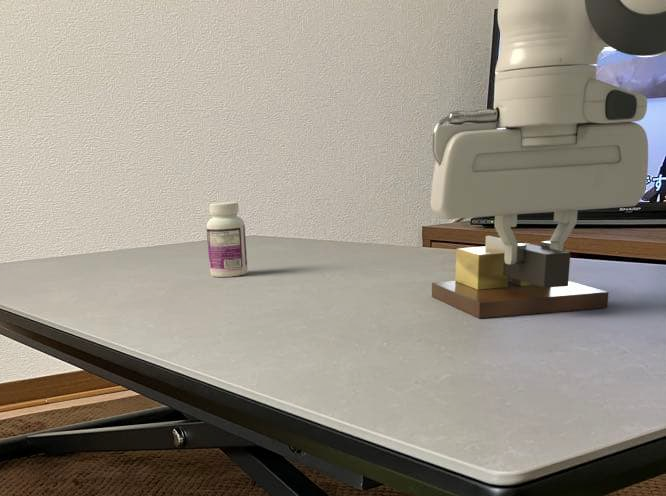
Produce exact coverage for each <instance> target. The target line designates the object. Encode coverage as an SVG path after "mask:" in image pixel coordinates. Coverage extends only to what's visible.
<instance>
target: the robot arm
mask: <svg viewBox="0 0 666 496" xmlns="http://www.w3.org/2000/svg"><path fill="white" fill-rule="evenodd" d="M497 24H498V29H499V34H500V50H499V56H498V59H497V61H496V65H495V72H494V73H495V76H494V92H493V93H494V95H493V108H482V109H480V108H479V109H475V110H467V111H465V110H453V111H450V112H449V113H448V115H446V116H445V117H443V118H441V119H440V120H439V121H438V122H437V123H436V125H435V127H434V129H433V132H432V155H433V158H434V159H435V164H434V169H433V176H432V183H431V191H430V192H431V193H430V208H431V210H432V212H433V213H434V214H435V216H437V217H438V218H439V219H444V220H445V219H446V220H454V219H470V218H471V219H472V218H485V217H494V229H495V230H496V232H497V234H498V236H499V238H501V240H502V242H503V244H505V255H504V260H505V263H506V264H509V265H511V264H523V263H524V262H525V255H524V254H525V253H526V245H524V244H522V243H517V242H518V241H517V239H516V236H515V234H514V232H513V230H512V228H516V227H517V226H518V225H517V224H518V215H527V214H528V215H529V214H541V213H543V214H544V213H553V222H554V223H558V224H557V226H556V228H555V230H554V231H553V233H552V235H551V237H550V239H549V240H545V241H541V247H546V248H550V249H555V250H560V251H564V244H565V242H566V241H567V239H568V238H569V236H570V235H571V233H572V231H573V230H574V228H575V226H577V223H578V213H579V212H578V211H582V210H583V211H584V210H598V209H599V210H600V209H611V208H626V207H635V206H637V205H638V204H639V203H640V201H641V200H642V198H643V197H644V195H645V194H646V190H647V183H648V173H649V172H648V171H649V141H648V140H649V139H648V135H647V133H646V130H645V128H644V127H643V126H642V125H640V124H639V123H637V122H640V121H641V120H643V119H644V118H645V116H646V114H647V111H648V109H647V108H648V99H647V97H646V96H645V95H643V94H641V93H640V92H639V93H638V92H635V91H632V90H629V89H626V88H623V87H620V86H617V85H614V84H611V83H608V82H605V81H603V80H600V79H597V68H598V59H599V57H600V54H601V53H603V52H604V51H614V52H620V53H622V54H626V55H629V56H630V55H631V56H635V57H639V58H655V57H658V56H659V57H661V56H663V55H666V0H498V2H497ZM447 122H448V124H445V123H447Z"/></svg>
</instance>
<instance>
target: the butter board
mask: <svg viewBox="0 0 666 496" xmlns="http://www.w3.org/2000/svg"><path fill="white" fill-rule="evenodd" d="M525 243H527V244H529V243H528V242H524V243H521V244H525ZM535 245H536V246H538V245H537V244H535ZM504 252H505V251H501V250H497V249H493V248H489V247H485V246H483V245H482V246H474V247H473V246H472V247H471V246H470V247H459V248H456V249H455V278H454V280H449V281H448V280H447V281H435V282H432V283H431V297H432V298H434V299H436V300H438V301H440V302H443V303H445V304H447V305H450V306H451V307H454V308H456V309H458V310H460V311H462V312H463V313H467V314H468V315H471V316H473V317H475V318H478V319H491V318H492V319H493V318H503V317H515V316H525V315H527V316H528V315H538V314H539V315H540V314H548V313H560V312H561V313H563V312H572V311H584V310H585V311H586V310H595V309H596V310H597V309H608V302H609V293H610V292H609V291H606V290H603V289H598V288H596V287H593V286H589V285H584V284H582V283H578V282H574V281H571V280H568V286H562V287H549V288H543V287H540V286H537V285H533V284H530V283H527V282H524V281H521V280H517V279H514V278H511V277H508V276H505V275H503V271H504Z"/></svg>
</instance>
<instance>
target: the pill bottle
mask: <svg viewBox="0 0 666 496" xmlns="http://www.w3.org/2000/svg"><path fill="white" fill-rule="evenodd" d="M239 207H240V206H239V202H238V201H222V202H221V201H219V202H212V203H209V214H210V216H211V217H212V218H210V219H209V220H208V221H207V223H206V239H207V250H208V263H209V273H210V275H211V276H212V277H214V278H230V277H231V278H232V277H239V276H243V275H247V273H248V271H249V270H248V256H247V254H248V253H247V242H246V239H247V238H246V225H245V221H244V220H243V218H242V217H240V216H238V214H239V211H240V208H239Z"/></svg>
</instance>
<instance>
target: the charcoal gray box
mask: <svg viewBox="0 0 666 496" xmlns="http://www.w3.org/2000/svg"><path fill="white" fill-rule="evenodd" d="M517 243H518V241H517ZM524 243H525V244H524V245H526V253H525V254H524V255H525V262H524V263H523V264H511V265H509V264H506V263H505V260H504V271H503V275H505V276H508V277H511V278H514V279H517V280H521V281H524V282H527V283H530V284H533V285H537V286H540V287H543V288H549V287H562V286H568V281H569V277H570V266H571V252H569V251H565V250H563V251H560V250H555V249H550V248H546V247H542V245H541V246H540V245H537V244H532V243H528V242H524ZM527 243H528V244H527ZM536 245H537V246H536ZM485 247H489V248H493V249H497V250H501V251H505V244H503V242H502V240H501V238H500V237H496V236H492V235H486V236H485ZM504 255H505V252H504Z"/></svg>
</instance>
